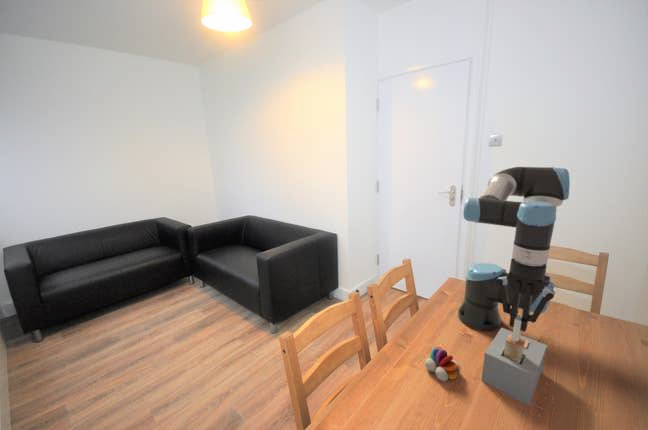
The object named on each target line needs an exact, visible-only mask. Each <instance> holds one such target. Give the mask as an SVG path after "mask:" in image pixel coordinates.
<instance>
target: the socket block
mask: <svg viewBox="0 0 648 430" xmlns="http://www.w3.org/2000/svg"><path fill="white" fill-rule="evenodd" d="M509 334H511V335H512V334H513V330H509V329H506V328H504V327H501V326H500V328H499V329H498V332H497V334H496V335H495V336H494V338H493V340H492V341H491V342H490V344H489V345H488V347H487V349H486V350H485V352H484V358H483V366H482V371H481V372H482V373H481V378H480V379H481V380H480V381H481V382H483V383H485V384H486V385H489V386H490V387H493V388H495V389H497V390H499V391H500V392H502V393H504V394H505V395H507V396H509V397H511V398H513V399H514V400H517V401H519V402H521V403H523V404H524V405H526V406H527V407H530V406H531V403H532V401H533V398H534V395H535V392H536V389H537V387H538V384H539V382H540V378H541V377H542V376H541V375H542V373H543V368H544V363H545V359H546V358H545V357H546V353H547V347H548V344H546V343H545V344H544V343H542V342H539V341H537V340H534V339H532V338H529V337H526V336H525V335H521V336H520V338H521V339H523V340H526V341H525V345H524V351H523V356H522V362H521V364H519V363H516V362H514V361H512V360H510V359H508V358H506V357H503V356H504V350H505V343H506V339H507V337H508V336H509Z"/></svg>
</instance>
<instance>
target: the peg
mask: <svg viewBox="0 0 648 430" xmlns="http://www.w3.org/2000/svg"><path fill="white" fill-rule="evenodd" d="M525 341H526V340H523V339H521V338H520V339H519V340H518V342H517V341H515V340H512V335H511V334H509V336H508V337H507V339H506V343H505V350H504V356H503V357H506V358H508V359H510V360H512V361H514V362H516V363H519V364H521V362H522V356H523V351H524V345H525Z"/></svg>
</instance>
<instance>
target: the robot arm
mask: <svg viewBox="0 0 648 430" xmlns="http://www.w3.org/2000/svg"><path fill="white" fill-rule="evenodd" d="M570 186H571V184H570V173H569V171H568V169H567V168H565V167H554V166H551V167H547V166H546V167H545V166H544V167H542V166H541V167H540V166H538V167H537V166H535V167H534V166H515V167H508V168H506V169H504V170H501V171H499V172H497V173H495V174H493V176H491V177H490V179H489V180H488V183H487V187H486V188H485V189H484V191H483V192H482V194H481V195H480V196H479V197H469V198H467V199H466V200H465V203H464V207H463V213H462V214H463V218H464V220H465V221H467V222H472V223H475V224H486V225H487V224H488V225H495V226H502V227H509V228H515V233H514V240H513V245H512V252H511V257H512V258H511V259H510V264H509V272H505V271H504V270H503V267H501V266H500V265H498V264H494V263H490V262H480V263H474V264H471V265H470V266H469V267H468V268H467V272H466V276H465V287H464V288H465V289H464V290H465V291H464V298H463V300H462V302H461V304H460V305H459V307H458V311H457V317H458V319H459V321H460V322H462V324H464V325H465V326H467V327H470V328H472V329H474V330H478V331H482V332H495V331H497V330H500V329H501V326H502V325H501V322H502V318H501V313H500V310H499V304H501V306H502V310H503V313H505V314H508V315H509V316H510V317H509V322H508V323H509V324H508V325H509V327H511V328H512V329H513V330H512V332H513V334H512V340H515V341H517V342H518V340H519V339H520V336H521V334H522V332H526V331H527V327H528V323H529V322H531V323H532V324H533V323H535V322H536V321H537V319H538V318H539V316H540V315H543V314H544V313H546V311H547V309H548V306H549V304H550V302H551V300H552V299H554V298H555V295H556V292H555V291H554V289H555V285H556V284H555V283H554V282H552V281H551V276H550V275H549V273H548V272H547V265H548V261H549V255H550V248H551V243H552V237H553V233H554V228H555V227H554V226H555V223H556V220H557V208H559V206H561V205H563V201H566V200H569V195H570ZM509 196H511V197H523V202H522V201H515V200H514V201H512V200H508V198H509ZM519 310H522V314H521V315H519V314H518V313H519ZM530 313H532V314H530Z"/></svg>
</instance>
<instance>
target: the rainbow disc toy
mask: <svg viewBox="0 0 648 430" xmlns="http://www.w3.org/2000/svg"><path fill="white" fill-rule="evenodd" d="M453 359H454V356H453V355H448V352H447V350H445V349H443V348H441V349H440V348H432V349H431V351H430V354H429V355H428V358H426V359H425V361H424V364H425V367H426V369H427V370H428V371H429V372H431V373H435V376H436V378H437V379H438V380H439V381H441V382H447V381H448V379H450V380H456V379H457V377H458V375H459V374H460V373H461V371H462V368H461V364H460V363H458V361H456V360H453Z"/></svg>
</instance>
